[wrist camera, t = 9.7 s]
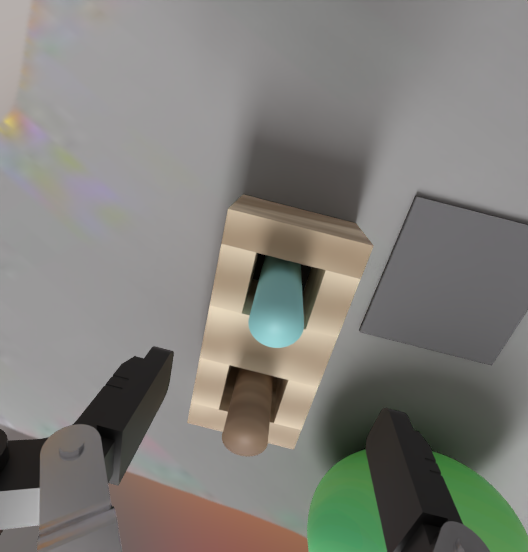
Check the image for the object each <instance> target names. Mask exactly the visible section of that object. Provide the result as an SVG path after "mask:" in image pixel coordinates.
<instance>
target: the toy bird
mask: <svg viewBox="0 0 528 552" xmlns="http://www.w3.org/2000/svg"><path fill="white" fill-rule="evenodd" d="M432 453H433V455H434V457H435V460H436V463H437V464H438V467H439V469H440V471H441V476H443V478H444V481H445V483H446V485H447V488H448V490H449V492H450V494H451V497H452V499H453V501H454V504H455V506H456V508H457V511H458V513H459V515H460V518H461V520H462V522H463V525H465V526H466V527H468V528H469V529H471V530H472V531H473V532H474V533H475V534H477V535H478V536H479V537H480V538H481V540H482V541H483V542H484V543H485V544H486V546H487V547H488V549H489V550H490V552H528V535H527V533H526V531H525V529H524V527H523V525H522V523H521V522H520V520H519V518H518V517H517V515H516V514H515V512H514V511H513V509H512V508H511V506H510V505H509V504H508V503H507V501H506V500H505V499H504V498H503V497H502V496H501V494H500V493H499V492H498V491H497V490H496V489H495V488H494V487H493V486H492V485H491V484H490V483H488V482H487V481H486V480H485V479H484V478H483V477H481V476H480V475H479V474H477V473H476V472H474V471H473V470H472V469H470V468H468V467H467V466H465V465H463V464H462V463H460V462H458V461H456V460H454V459H452V458H449V457H447V456H445V455H442V454H439V453H436V452H433V451H432ZM307 538H308V549H309V552H387V548H386V544H385V539H384V534H383V530H382V525H381V520H380V516H379V511H378V506H377V502H376V497H375V492H374V488H373V483H372V479H371V474H370V469H369V465H368V460H367V455H366V449H365V450H362V451H359V452H356V453H353V454H351V455H349V456H347V457H345V458H344V459H342V460H341V461H339V462H338V463H336V464H335V465H334V466H333V467H332V468H331V469H330V470H329V471H328V472H327V473H326V474H325V476H324V477H323V478H322V480H321V481H320V483H319V485H318V486H317V488H316V491H315V493H314V495H313V498H312V501H311V505H310V510H309V515H308V525H307Z"/></svg>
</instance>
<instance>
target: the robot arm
mask: <svg viewBox="0 0 528 552" xmlns="http://www.w3.org/2000/svg"><path fill="white" fill-rule="evenodd" d="M173 356H174V352H173V351H170V350H167V349H163V348H159V347H155V346H153V347H152V348H151V350H150V351H149V352H148V354H147V355H146V357H145V358H144V359H143V358H139V357H136V356H134V357H133V358H131V359H129V360H128V361H126V362H124V363H123V364H121V366H120V367H119V368H118V369H117V371H116V372H115V373H114V374H113V377H111V378H110V379H109V381H108V382H107V383H106V385H105V386H104V387H103V388H102V389H101V391H100V392H99V393H98V394H97V396H96V397H95V398H94V400H93V401H92V402H91V403H90V405H89V406H88V407H87V408H86V410H85V411H84V412H83V413H82V415H81V416H80V417H79V418H78V420H77V421H76V422H75V423H74V424H73V425H70V426H67V427H64V428H62V429H60V430H58V431H56V432H55V433H54V434H52V435H51V436H50V437H48V438H44V439H35V440H14V441H8V439H7V435H6V434H5V432H4V431H2V430H1V429H0V534H1V533H2V531H3V530H4V529H11V528H20V527H28V526H36V525H39V536H38V541H37V542H38V543H37V552H122V547H121V541H120V535H119V528H118V522H117V517H116V512H115V508H114V507H112V505H111V500H110V494H109V487H108V483H111V484H114V485H119V483H120V482H121V479H122V478H123V476H124V474H125V472H126V470H127V468H128V466H129V464H130V463H131V461H132V459H133V457H134V455H135V453H136V451H137V449H138V447H139V445H140V444H141V442H142V440H143V438H144V436H145V434H146V432H147V430H148V428H149V426H150V424H151V423H152V421H153V419H154V417H155V415H156V413H157V411H158V409H159V407H160V405H161V404H162V402H163V400H164V398H165V395H166V393H167V390H168V386H169V382H170V376H171V369H172V362H173ZM366 455H367V460H368V465H369V469H370V474H371V479H372V483H373V488H374V492H375V497H376V502H377V506H378V511H379V516H380V520H381V525H382V530H383V534H384V539H385V544H386V548H387V552H490V550H489V549H488V547H487V546H486V544H485V543H484V542H483V541H482V540H481V538H480V537H479V536H478V535H477V534H475V533H474V532H473V531H472V530H471V529H469V528H468V527H466V526H465V525H463V522H462V520H461V518H460V515H459V513H458V511H457V508H456V506H455V504H454V501H453V499H452V497H451V494H450V492H449V490H448V488H447V485H446V483H445V481H444V478H443V476H441V471H440V469H439V467H438V464H437V463H436V460H435V457H434V455H433V453H432V450H431V448H430V446H429V444H428V443H427V442H426V441H425V439H424V438H423V437H422V435H421V434H420V433H419V432H418V431H414V430H413V427H412V425H411V422H410V420H409V417H408V415H407V414H406V413H404V412H400V411H396V410H392V409H388V408H383V409H382V410H381V412H380V414H379V416H378V417H377V419H376V421H375V423H374V425H373V427H372V429H371V430H370V432H369V434H368V437H367V440H366Z"/></svg>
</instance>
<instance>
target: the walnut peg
mask: <svg viewBox="0 0 528 552" xmlns="http://www.w3.org/2000/svg"><path fill="white" fill-rule="evenodd" d="M273 380H274V376H271V375H267V374H263V373H259V372H255V371H251V370H247V369H243V368H239V370H238V374H237V378H236V382H235V386H234V390H233V394H232V398H231V402H230V406H229V410H228V414H227V418H226V422H225V426H224V430H223V434H222V441H223V443H224V445H225V446H226V448H227V449H228V450H230V451H231V452H233V453H235V454H237V455H241V456H255V455H258V454H260V453H262V452H263V451H264V450H265V449H266V447H267V444H268V435H269V424H270V413H271V402H272V391H273Z"/></svg>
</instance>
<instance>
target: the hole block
mask: <svg viewBox="0 0 528 552" xmlns="http://www.w3.org/2000/svg"><path fill="white" fill-rule="evenodd" d="M372 249H373V244H372V243H371V242H370V241H369V239H368V238H367V237H366V236H365V234H364V233H363V232H362V230H361V229H360V228H359V227H358V225H357V224H356V223H353V222H349V221H345V220H341V219H337V218H333V217H330V216H326V215H322V214H318V213H314V212H310V211H306V210H302V209H298V208H294V207H290V206H287V205H283V204H279V203H275V202H271V201H267V200H263V199H259V198H255V197H251V196H247V195H244V194H243V195H242V196H241V197H240V198H239V199H238V200H237V201H236V202H235V203H233V204H232V205H231V206H230V207H229V208H228V212H227V217H226V222H225V227H224V233H223V238H222V243H221V248H220V254H219V259H218V264H217V269H216V275H215V280H214V285H213V290H212V296H211V301H210V306H209V312H208V317H207V322H206V327H205V333H204V338H203V343H202V348H201V354H200V359H199V364H198V369H197V375H196V380H195V385H194V390H193V396H192V401H191V406H190V411H189V417H188V422H187V423H190V424H194V425H198V426H202V427H206V428H210V429H214V430H218V431H222V432H223V430H224V426H225V422H226V418H227V414H228V410H229V406H230V402H231V398H232V394H233V390H234V386H235V382H236V378H237V374H238V370H239V368H243V369H247V370H251V371H255V372H259V373H263V374H267V375H271V376H274V380H273V391H272V402H271V413H270V424H269V435H268V443H270V444H274V445H278V446H282V447H286V448H290V449H294V448H295V445H296V442H297V440H298V437H299V435H300V432H301V430H302V427H303V425H304V422H305V419H306V417H307V414H308V412H309V409H310V407H311V404H312V402H313V399H314V397H315V394H316V391H317V389H318V386H319V384H320V381H321V379H322V376H323V374H324V371H325V368H326V366H327V363H328V361H329V358H330V356H331V353H332V351H333V348H334V346H335V343H336V340H337V338H338V335H339V333H340V330H341V328H342V325H343V323H344V320H345V317H346V315H347V312H348V310H349V307H350V305H351V302H352V300H353V297H354V295H355V292H356V289H357V287H358V284H359V282H360V279H361V277H362V274H363V272H364V269H365V267H366V264H367V261H368V259H369V256H370V254H371V251H372ZM259 253H260V254H264V255H268V256H272V257H276V258H279V259H283V260H287V261H291V262H295V263H299V264H303V265H307V266H311V270H310V273H309V276H308V279H307V282H306V286H305V289H304V292H302V295H303V314H304V329H303V333H302V335H301V336H300V338H299V339H298V340H297V341H296V342H295V343H293V344H291V345H289V346H287V347H282V348H272V347H268V346H265V345H263V344H261V343H260V342H258V341H257V340H256V339H255V338H254V337H253V336H252V334H251V332H250V329H249V324H248V321H249V316H250V312H251V308H252V305H253V301H254V297H255V293H256V290H257V286H258V282H259V281H258V280H254V279H253V275H254V271H255V267H256V263H257V259H258V254H259Z"/></svg>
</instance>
